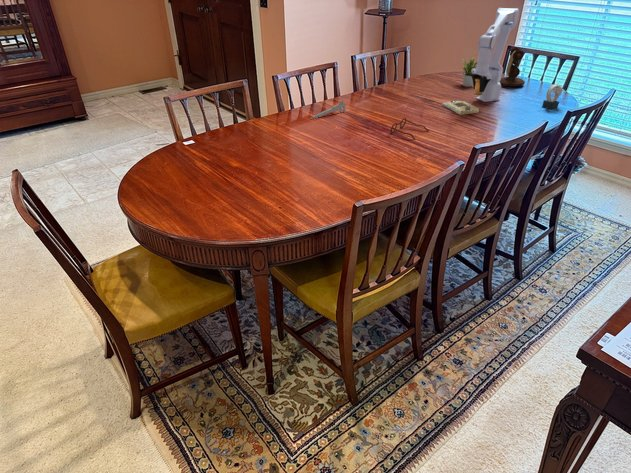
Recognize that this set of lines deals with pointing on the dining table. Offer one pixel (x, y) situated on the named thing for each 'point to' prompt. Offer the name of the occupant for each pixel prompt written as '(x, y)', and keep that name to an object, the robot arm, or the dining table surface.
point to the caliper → (331, 110)
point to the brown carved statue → (513, 70)
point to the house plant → (467, 76)
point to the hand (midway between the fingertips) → (478, 90)
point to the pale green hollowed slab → (461, 107)
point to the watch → (552, 102)
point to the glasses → (403, 126)
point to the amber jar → (477, 87)
